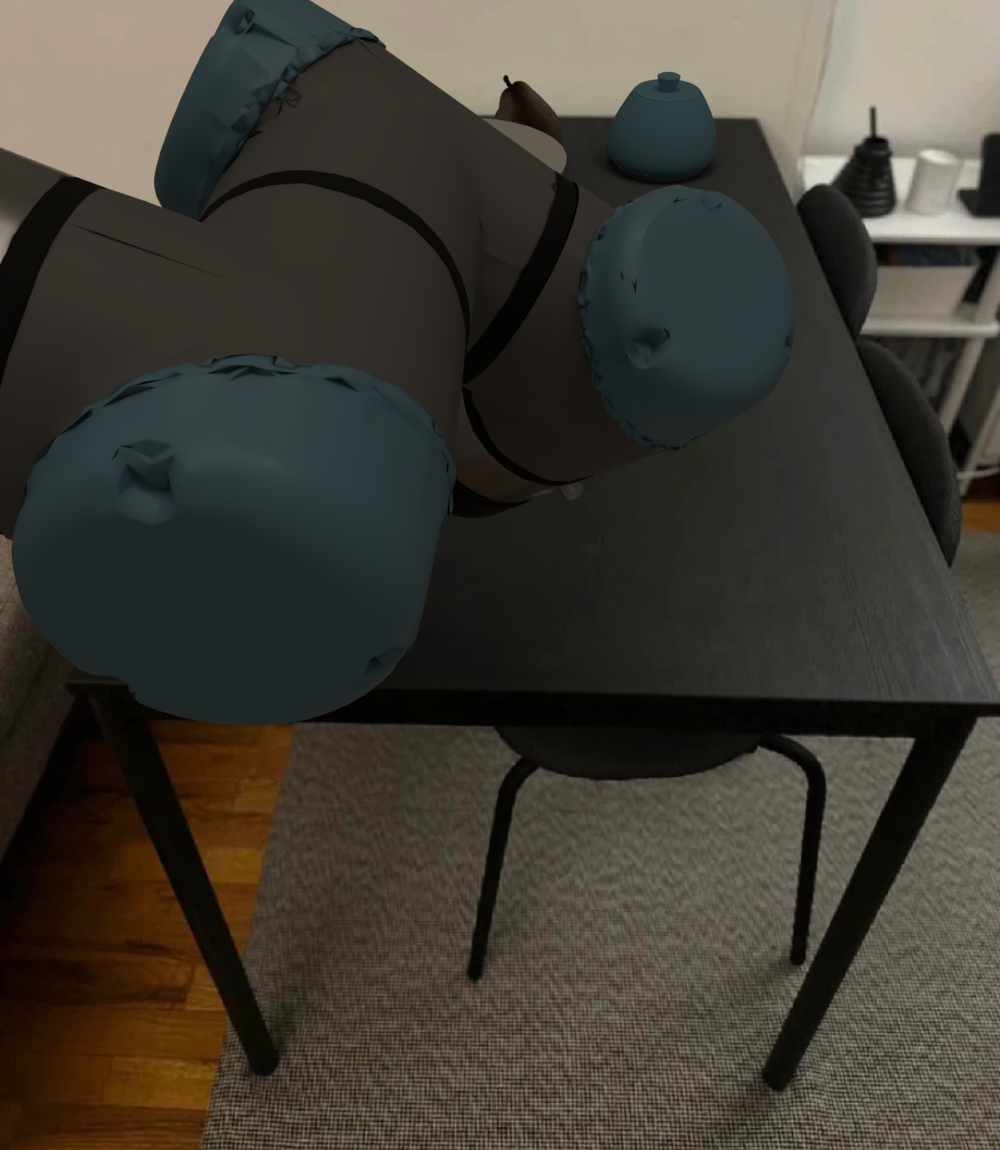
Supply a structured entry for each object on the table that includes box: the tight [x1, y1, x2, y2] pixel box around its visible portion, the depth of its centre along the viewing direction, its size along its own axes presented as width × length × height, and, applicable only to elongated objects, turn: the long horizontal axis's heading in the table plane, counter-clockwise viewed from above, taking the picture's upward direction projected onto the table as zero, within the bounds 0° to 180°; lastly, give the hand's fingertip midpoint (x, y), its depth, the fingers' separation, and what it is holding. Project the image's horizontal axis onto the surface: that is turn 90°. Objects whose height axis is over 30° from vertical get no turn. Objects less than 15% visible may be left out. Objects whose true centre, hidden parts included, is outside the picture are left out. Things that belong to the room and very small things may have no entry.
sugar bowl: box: [606, 71, 718, 183], centre depth 127 cm, size 15×15×12 cm
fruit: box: [493, 74, 563, 146], centre depth 126 cm, size 10×9×12 cm
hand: (355, 505), depth 61 cm, fingers open, 13 cm apart
